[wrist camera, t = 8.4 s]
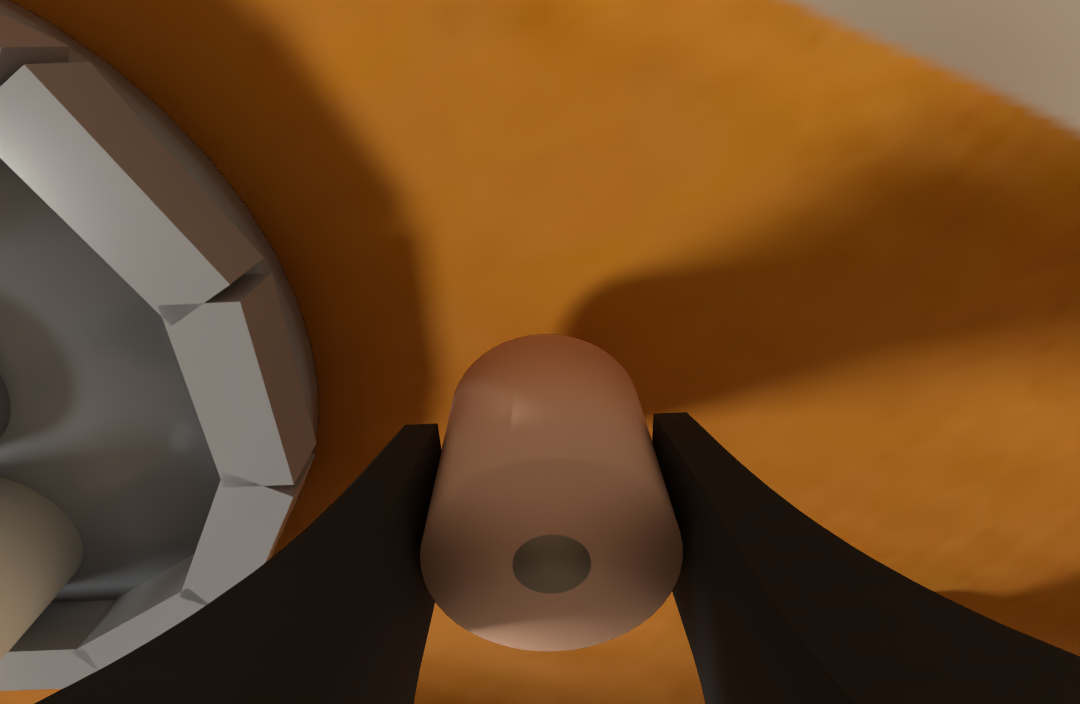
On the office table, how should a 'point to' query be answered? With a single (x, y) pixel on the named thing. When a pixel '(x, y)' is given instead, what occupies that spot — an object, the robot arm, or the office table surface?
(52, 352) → the tray
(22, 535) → the bead cream
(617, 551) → the bead terracotta
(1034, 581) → the office table surface
